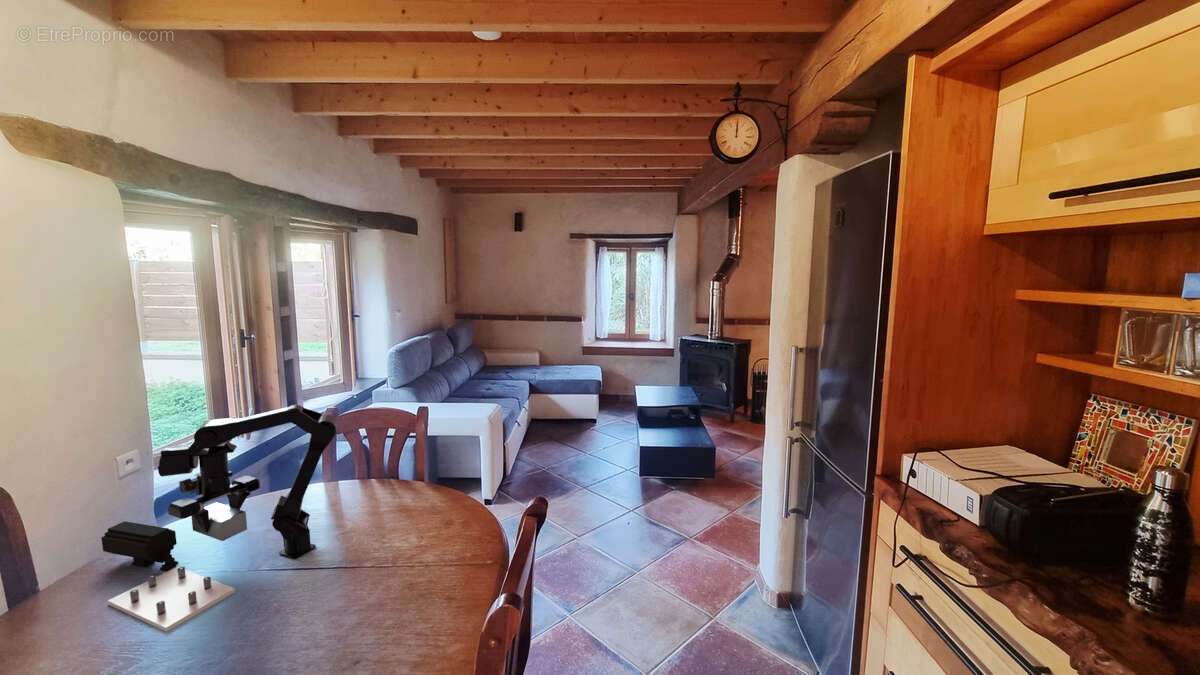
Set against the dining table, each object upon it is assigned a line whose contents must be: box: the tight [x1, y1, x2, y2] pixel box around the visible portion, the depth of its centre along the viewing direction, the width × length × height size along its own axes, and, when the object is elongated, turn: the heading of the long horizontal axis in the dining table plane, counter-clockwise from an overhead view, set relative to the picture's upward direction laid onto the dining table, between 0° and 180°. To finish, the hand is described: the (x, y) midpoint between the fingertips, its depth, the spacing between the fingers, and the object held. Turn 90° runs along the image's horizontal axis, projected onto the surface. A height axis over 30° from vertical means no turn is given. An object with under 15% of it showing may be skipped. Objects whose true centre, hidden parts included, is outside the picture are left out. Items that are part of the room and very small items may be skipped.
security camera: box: [100, 520, 179, 573], centre depth 127 cm, size 7×18×10 cm, turn 78°
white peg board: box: [107, 566, 235, 633], centre depth 115 cm, size 22×14×4 cm, turn 69°
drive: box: [190, 501, 248, 542], centre depth 126 cm, size 12×6×5 cm, turn 68°
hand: (219, 526), depth 126 cm, fingers closed on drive, 6 cm apart
